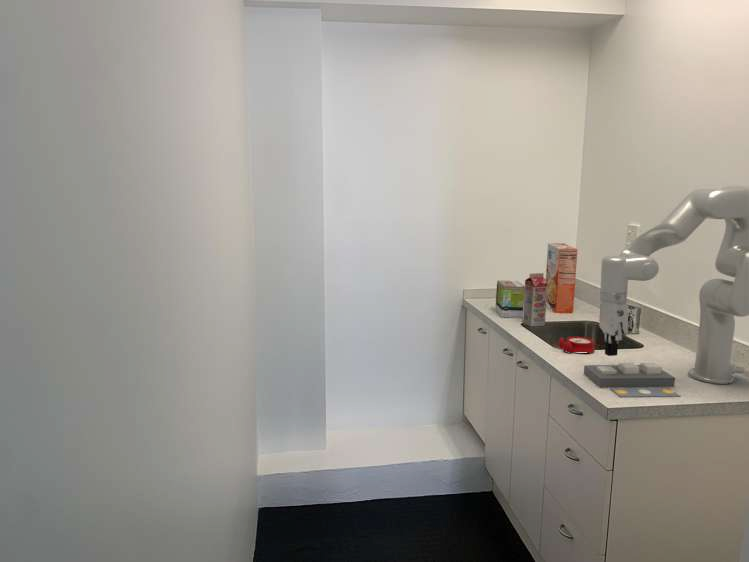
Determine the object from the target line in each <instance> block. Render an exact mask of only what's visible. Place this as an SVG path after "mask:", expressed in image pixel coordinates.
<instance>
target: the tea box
mask: <svg viewBox="0 0 749 562" xmlns="http://www.w3.org/2000/svg"><path fill="white" fill-rule="evenodd" d="M524 292H525V284H524V285H523V283H521V282H520V281H518V280H497V281H496V291H495V309H494V310H495V311H496V313H497V314H498V315H499V316H500V317H501V318H503V317H505V318H506V319H507V318H508V319H510V318H511V319H523V309H524Z"/></svg>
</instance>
